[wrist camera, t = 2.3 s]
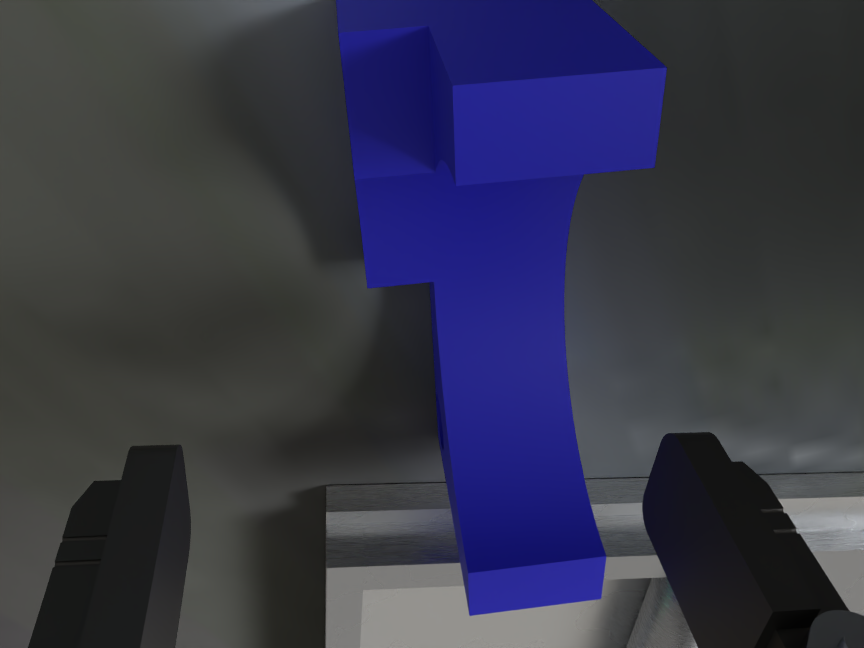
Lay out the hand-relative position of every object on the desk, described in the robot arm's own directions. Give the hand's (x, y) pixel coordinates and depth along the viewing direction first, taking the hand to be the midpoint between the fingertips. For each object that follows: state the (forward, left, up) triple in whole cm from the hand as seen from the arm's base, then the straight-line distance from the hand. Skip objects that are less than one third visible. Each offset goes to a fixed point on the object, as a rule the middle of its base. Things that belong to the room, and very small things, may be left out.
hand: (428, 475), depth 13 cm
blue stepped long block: (-1, 0, -8) cm, 8 cm away
